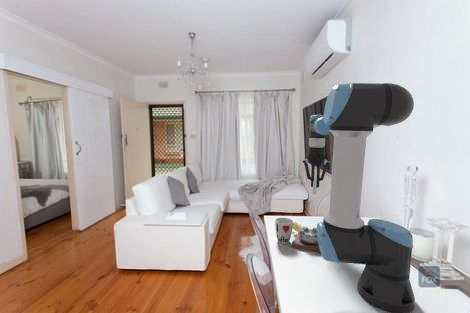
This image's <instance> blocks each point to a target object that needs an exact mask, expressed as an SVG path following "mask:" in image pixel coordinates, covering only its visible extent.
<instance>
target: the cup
mask: <svg viewBox="0 0 470 313" xmlns="http://www.w3.org/2000/svg"><path fill="white" fill-rule="evenodd" d="M274 222H275V223H274V224H275V225H274V226H275V234H276V238H277V242H278V243H279V244H283V245H286V244H288V243H289V242H290V240H291V239H292V238H291V237H292V234H293V233H292V231H293V229H292V227H293V222H294V220H293V219H291V218H287V217H277V218H275V221H274Z"/></svg>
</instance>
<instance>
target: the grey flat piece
mask: <svg viewBox="0 0 470 313" xmlns="http://www.w3.org/2000/svg"><path fill="white" fill-rule="evenodd" d="M292 230H293V231H294V232H297V234H298V233H299V240H300V241H301V242H302V243H304V244H307V245H312V246H318V245H319V244H318V238H317V227H312V228H309V227H308V226H303V225H301V224H299V223H298V222H296V221H293V227H292Z"/></svg>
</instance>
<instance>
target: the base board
mask: <svg viewBox="0 0 470 313" xmlns="http://www.w3.org/2000/svg"><path fill="white" fill-rule="evenodd" d="M291 248H292V249H298V250H301V251H306V252H311V253H315V254H319V255H321V252H320V248H319V245H318V246H312V245H307V244H304V243H302V242H301V241H300V240H299V233H298V232H297V234H296V236H295V237H294V239H293V240H292V242H291Z"/></svg>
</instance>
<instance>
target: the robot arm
mask: <svg viewBox="0 0 470 313" xmlns="http://www.w3.org/2000/svg"><path fill="white" fill-rule="evenodd" d="M324 105H325V106H324V110H323V114H312V115H311V116H310V117H309V118H310V119H309V138H308V146H309V147H308V156H307V157H306V158H305V159H304V160H302V163H303V164H304V169H305V173H306V177H307V178H306V179H307V180H308V181H309V180H310V187H311V188H312V195H317V194H318V188H319V187H320V181H324V178H325V175H326V173H327V170H328V166H329V165H330V163H331V162H330V161H329V160H327V159H326V157H325V151H326V147H325V146H326V136H330V135H331V136H333V150H332V163H331V164H332V165H331V176H330V177H331V178H330V179H331V181H330V192H329V205H328V206H329V208H328V212H326V213H325V214H324V215H323V219H322V220H323V221H318V222H317V223H316V228H317V238H318V244H319V248H320V252H321V254H320V255H321V256H322V258H323V259H324V260H325V261H327V262H333V263H337V264H340V263H343V264H355V265H365V266H364V269H363V270H362V273H361V274H360V276H359V278H358V280H357V292H358V293H359V295H360V296H361V298H363V300H365V301H366V302H367V303H369V304H371V305H372V306H373V307H376V308H378V309H380V310H384V311H387V312H390V313H410V312H412V311H413V310H414V309H415V304H416V298H415V293H414V290H413V287H412V284H411V281H410V279H411V278H410V275H411V266H412V253H413V249H414V243H413V242H414V240H413V239H414V238H413V233H411V231H410V230H409V229H408V228H406V227H404V226H402V225H400V224H398V223H394V222H392V221H389V220H385V219H384V220H383V219H379V218H372V219H369V220H368V222H367V224H365V221H364V220H363V219H362V218H361V217H360V216H361V215H360V212H361V204H362V202H361V200H362V191H363V179H364V168H365V157H366V149H367V148H366V147H367V138H368V137H369V136H370V135H371V134H372V133H374V129H375V128H378V127H381V126H386V127H390V126H394V125H398V124H401V123H403V122H405V121H406V120H407V119H409V117H410V116H411V115H412V113H413V110H414V105H415V102H414V98H413V95H412V94H411V93H410V91H409V90H408V89H406V88H405V87H403V86H402V85H400V84H397V83H391V82H389V83H388V82H386V83H385V82H384V83H383V82H382V83H373V82H371V83H370V82H369V83H368V82H367V83H366V82H365V83H364V82H362V83H361V82H360V83H358V82H356V83H355V82H349V83H340V84H339V83H338V84H336V85H334V86H333V87H332V88H331V90H330V91H329V93H328V95H327V97H326V101H325V104H324ZM308 163H309V164H310V165H311V166H310V167H311V171H310V168H309V164H308ZM323 163H324V164H323ZM322 164H323V165H324V167H323V169H322V172H321V166H322ZM310 172H311V173H310ZM315 173H316V179H315Z"/></svg>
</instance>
